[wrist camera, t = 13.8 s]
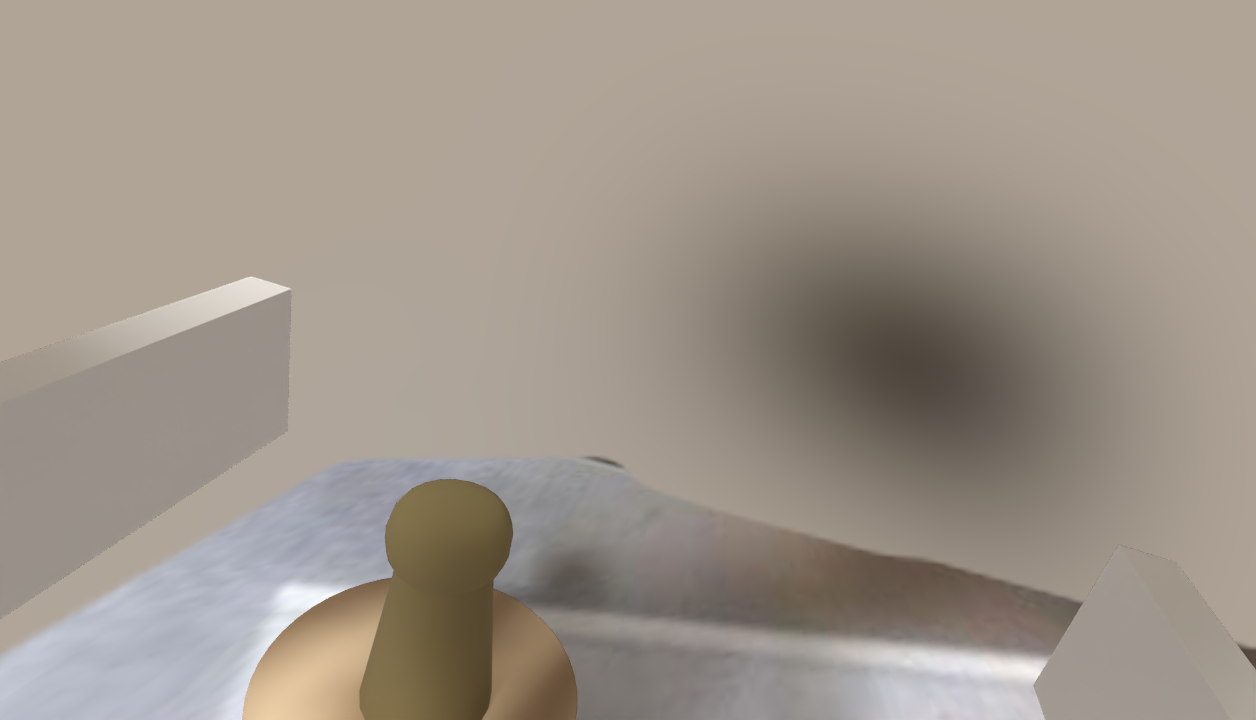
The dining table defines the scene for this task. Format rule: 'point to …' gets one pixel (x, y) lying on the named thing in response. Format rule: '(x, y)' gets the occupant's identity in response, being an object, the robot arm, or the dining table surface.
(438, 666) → the cork
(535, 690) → the stack of pancakes
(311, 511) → the dining table surface
